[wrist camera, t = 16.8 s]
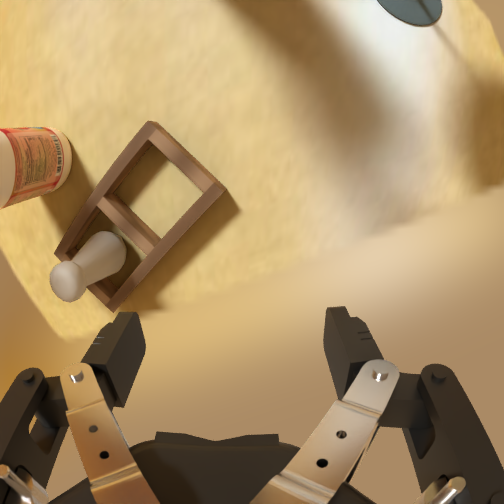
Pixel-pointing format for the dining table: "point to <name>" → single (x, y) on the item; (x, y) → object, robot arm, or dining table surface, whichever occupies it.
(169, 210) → the dining table surface
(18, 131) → the fruit juice
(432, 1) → the cocktail glass
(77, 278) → the salt shaker
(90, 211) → the caddy
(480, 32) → the dining table surface
